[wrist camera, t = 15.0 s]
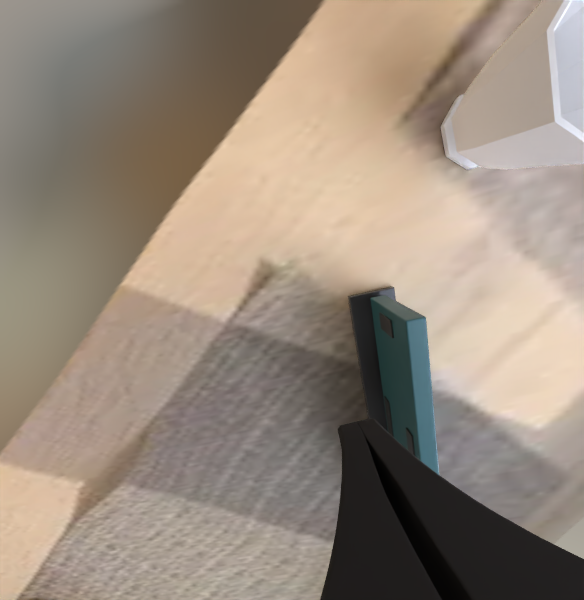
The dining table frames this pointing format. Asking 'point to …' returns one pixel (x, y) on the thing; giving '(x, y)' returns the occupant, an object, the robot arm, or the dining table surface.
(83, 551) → the dining table surface
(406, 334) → the door
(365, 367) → the door frame
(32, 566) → the dining table surface
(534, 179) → the dining table surface
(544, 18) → the cup
